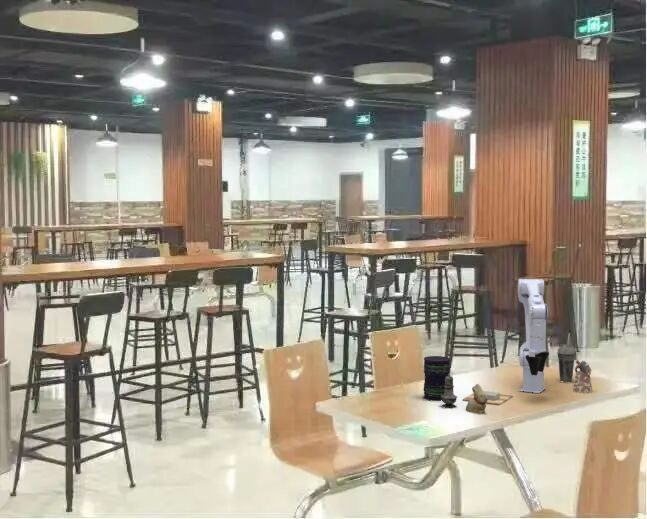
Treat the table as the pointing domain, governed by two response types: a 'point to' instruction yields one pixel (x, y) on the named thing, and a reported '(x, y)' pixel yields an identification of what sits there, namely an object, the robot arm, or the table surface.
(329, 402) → the table surface
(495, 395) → the tile
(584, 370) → the figurine
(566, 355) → the beverage cup
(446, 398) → the salt shaker
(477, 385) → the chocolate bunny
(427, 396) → the storage jar
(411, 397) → the table surface
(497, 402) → the wooden board
